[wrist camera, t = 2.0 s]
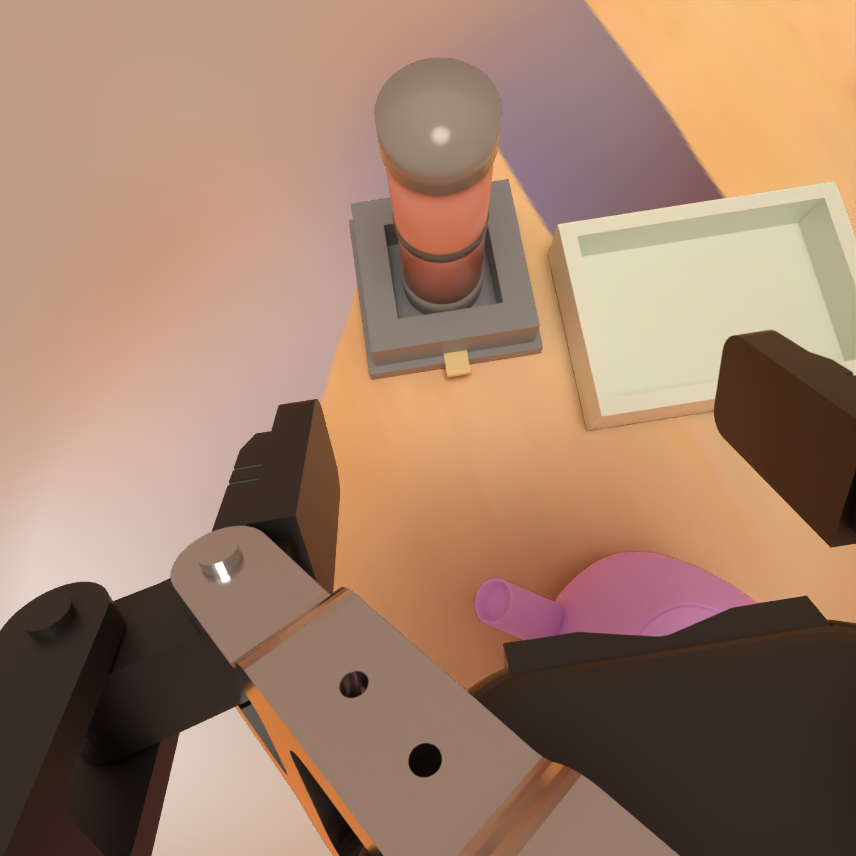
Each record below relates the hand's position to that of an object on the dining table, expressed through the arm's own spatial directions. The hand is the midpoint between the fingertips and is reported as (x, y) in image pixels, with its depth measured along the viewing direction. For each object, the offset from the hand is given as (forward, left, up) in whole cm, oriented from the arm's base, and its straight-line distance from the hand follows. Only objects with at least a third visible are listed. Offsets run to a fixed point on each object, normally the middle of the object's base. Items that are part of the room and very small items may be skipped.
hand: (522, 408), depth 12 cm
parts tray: (-13, -8, -18) cm, 23 cm away
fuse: (0, -12, -17) cm, 21 cm away
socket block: (0, -12, -18) cm, 21 cm away
